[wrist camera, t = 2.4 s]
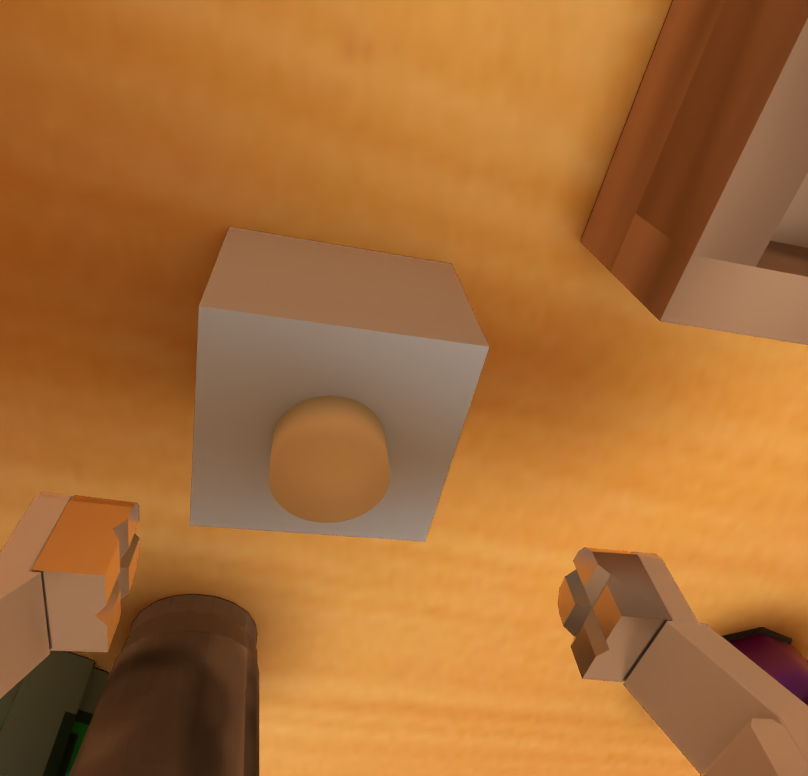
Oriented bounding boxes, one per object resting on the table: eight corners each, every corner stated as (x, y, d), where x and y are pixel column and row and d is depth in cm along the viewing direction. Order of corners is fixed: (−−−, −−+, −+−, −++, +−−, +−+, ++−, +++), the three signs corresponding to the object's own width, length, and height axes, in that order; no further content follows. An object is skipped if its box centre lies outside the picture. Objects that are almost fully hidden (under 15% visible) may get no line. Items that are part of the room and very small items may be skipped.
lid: (217, 411, 18) (179, 566, 13) (229, 224, 15) (186, 337, 10) (404, 431, 19) (432, 580, 14) (450, 262, 16) (504, 378, 11)
